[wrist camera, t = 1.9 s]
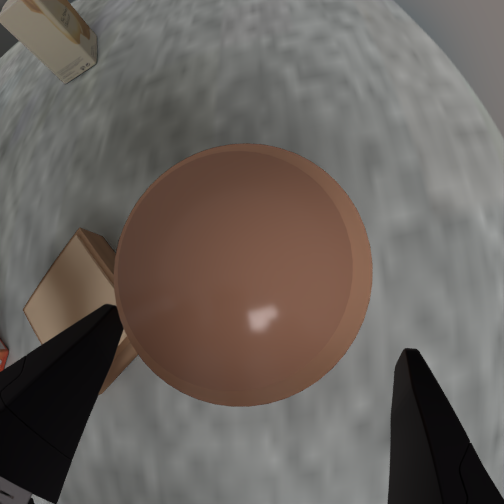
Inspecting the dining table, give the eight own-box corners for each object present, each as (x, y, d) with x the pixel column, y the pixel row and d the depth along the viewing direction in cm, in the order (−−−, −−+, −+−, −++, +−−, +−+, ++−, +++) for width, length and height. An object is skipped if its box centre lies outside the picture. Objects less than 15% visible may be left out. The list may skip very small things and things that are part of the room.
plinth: (101, 393, 19) (75, 402, 17) (46, 311, 21) (19, 309, 19) (170, 320, 19) (147, 320, 17) (102, 236, 21) (76, 226, 19)
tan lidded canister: (285, 363, 18) (226, 464, 5) (219, 297, 19) (64, 269, 7) (352, 294, 18) (434, 256, 5) (283, 230, 19) (227, 91, 7)
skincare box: (98, 64, 26) (31, -11, 14) (65, 86, 26) (-6, 21, 14) (97, 34, 27) (42, -33, 15) (67, 53, 28) (9, -7, 16)
